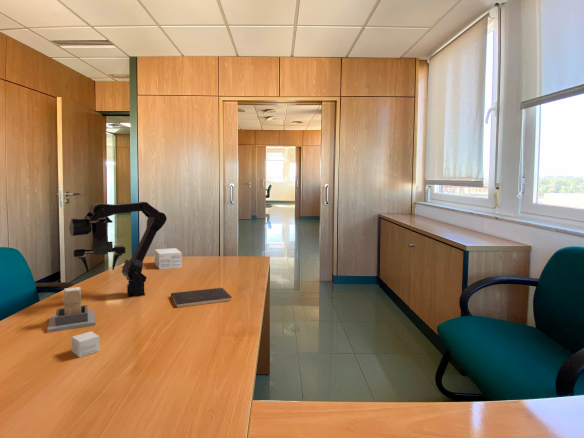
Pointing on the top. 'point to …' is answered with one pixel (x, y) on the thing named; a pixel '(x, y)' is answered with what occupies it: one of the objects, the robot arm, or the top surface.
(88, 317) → the holder
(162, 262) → the supplement box
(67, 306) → the box
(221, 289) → the hardcover book
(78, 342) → the small box
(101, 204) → the robot arm
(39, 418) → the top surface
